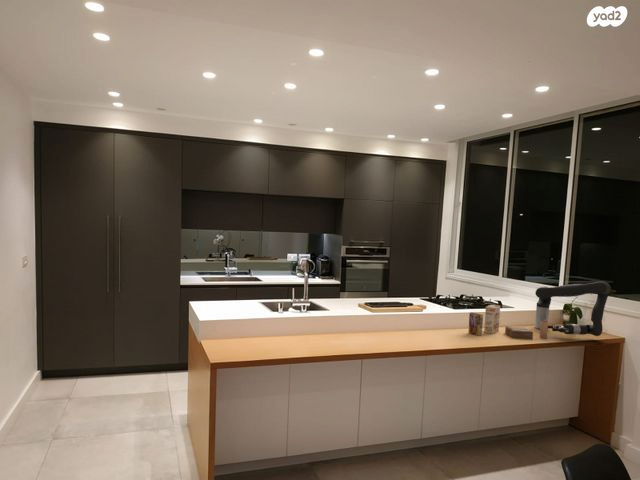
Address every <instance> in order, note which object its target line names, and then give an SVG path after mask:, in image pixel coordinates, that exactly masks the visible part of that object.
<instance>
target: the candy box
mask: <svg viewBox="0 0 640 480" xmlns="http://www.w3.org/2000/svg"><path fill="white" fill-rule="evenodd" d="M468 318H469V319H468V331H467V332H468V334H470V335H474V336H479V337H480V336H482V335H483V325H484V324H483V322H484V314H482V313H478V312H469V317H468Z"/></svg>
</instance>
